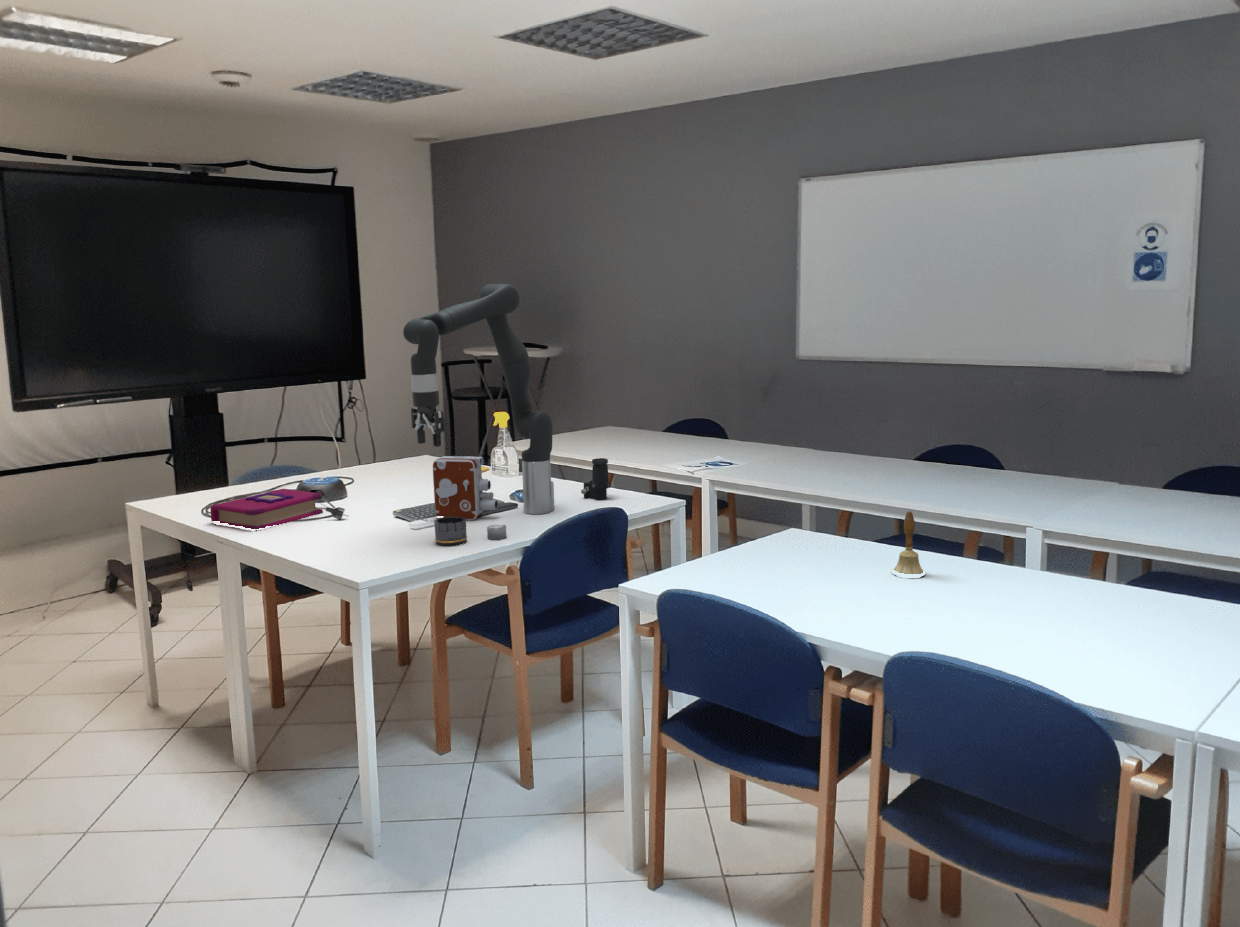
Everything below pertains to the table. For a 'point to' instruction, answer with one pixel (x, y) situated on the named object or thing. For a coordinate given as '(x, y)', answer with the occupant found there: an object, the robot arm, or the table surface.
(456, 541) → the lens barrel
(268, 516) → the book
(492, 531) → the lens cap
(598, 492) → the scope
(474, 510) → the cine camera
